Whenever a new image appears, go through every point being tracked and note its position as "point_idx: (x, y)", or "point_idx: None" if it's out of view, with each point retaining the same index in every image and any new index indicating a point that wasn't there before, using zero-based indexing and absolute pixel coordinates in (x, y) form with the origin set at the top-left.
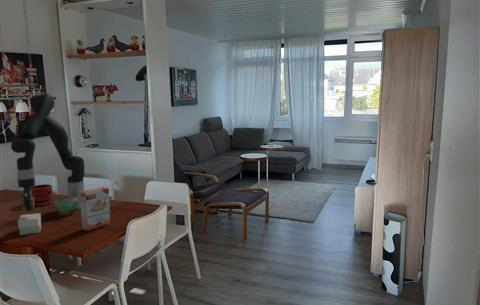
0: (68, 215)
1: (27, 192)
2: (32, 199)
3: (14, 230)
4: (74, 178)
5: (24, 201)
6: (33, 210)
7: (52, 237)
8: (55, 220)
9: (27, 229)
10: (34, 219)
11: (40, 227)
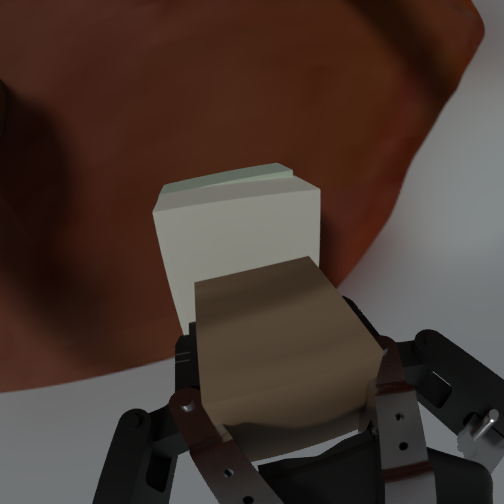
0: (2, 89)
1: (475, 464)
2: (370, 361)
3: None
4: None
5: (438, 381)
6: (309, 260)
7: (376, 84)
8: (59, 134)
9: None
10: (318, 213)
11: (222, 174)
